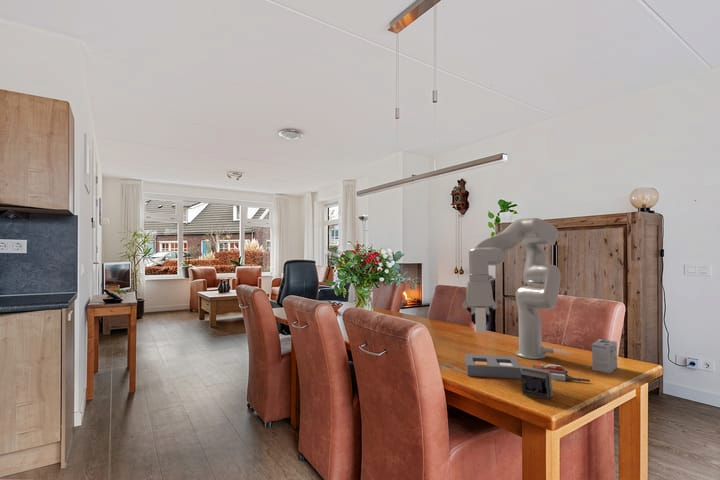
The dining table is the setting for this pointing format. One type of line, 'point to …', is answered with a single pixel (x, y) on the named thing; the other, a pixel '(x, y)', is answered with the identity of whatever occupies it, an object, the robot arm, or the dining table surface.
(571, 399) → the dining table surface
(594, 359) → the light bulb box
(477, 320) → the white bottle
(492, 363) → the socket block
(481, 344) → the dining table surface
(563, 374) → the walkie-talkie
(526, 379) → the electrical switch
